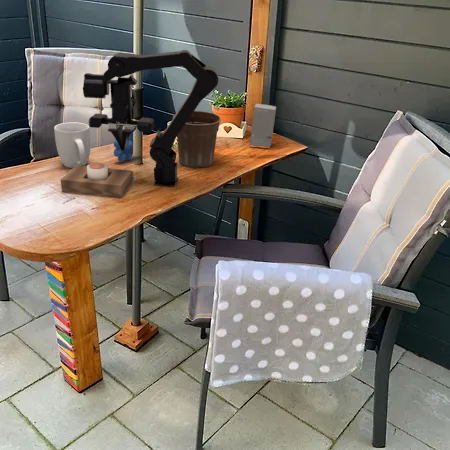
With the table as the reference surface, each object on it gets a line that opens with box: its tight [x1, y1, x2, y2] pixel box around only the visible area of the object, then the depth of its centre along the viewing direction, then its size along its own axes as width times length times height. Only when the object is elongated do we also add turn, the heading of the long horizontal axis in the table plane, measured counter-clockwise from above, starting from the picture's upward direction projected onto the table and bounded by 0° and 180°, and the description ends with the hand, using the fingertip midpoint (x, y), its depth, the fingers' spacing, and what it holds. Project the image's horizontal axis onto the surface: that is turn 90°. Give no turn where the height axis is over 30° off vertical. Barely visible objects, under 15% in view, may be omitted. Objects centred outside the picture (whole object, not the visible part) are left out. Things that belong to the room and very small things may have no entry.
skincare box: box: [249, 103, 277, 148], centre depth 189 cm, size 8×7×16 cm
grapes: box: [113, 133, 134, 163], centre depth 168 cm, size 12×7×12 cm, turn 140°
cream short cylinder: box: [86, 162, 108, 180], centre depth 147 cm, size 6×6×6 cm
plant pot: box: [172, 110, 222, 169], centre depth 169 cm, size 16×16×16 cm
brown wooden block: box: [60, 165, 134, 199], centre depth 148 cm, size 18×12×4 cm, turn 83°
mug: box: [53, 121, 92, 169], centre depth 159 cm, size 15×11×13 cm
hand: (123, 150), depth 150 cm, fingers closed
